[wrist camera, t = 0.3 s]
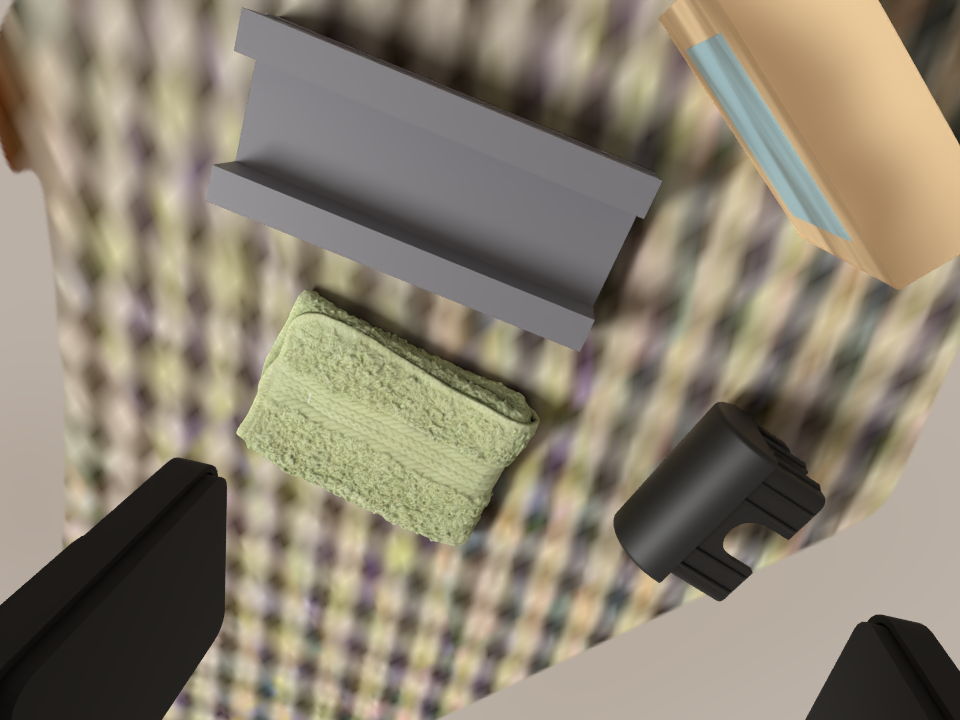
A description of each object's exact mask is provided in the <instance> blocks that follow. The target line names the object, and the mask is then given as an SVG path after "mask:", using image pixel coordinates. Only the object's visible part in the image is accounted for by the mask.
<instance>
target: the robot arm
mask: <svg viewBox="0 0 960 720" xmlns="http://www.w3.org/2000/svg"><path fill="white" fill-rule="evenodd" d="M226 510H227V482H226V480H225V479H224V478H222V477H218V473H217V470H216V467H214V466H213V465H210V464H205V463H201V462H196V461H192V460H187V459H183V458H173V459H171V460H170V461H168V462H167V463H166V464H165V465H164V466H163V467H161V468H160V469H159V470H158V471H157V472H156V473H155V474H154V475H152V476H151V477H150V478H149V479H148V480H147V481H146V482H144V483H143V484H142V485H141V486H140V487H139V488H138V489H136V490H135V491H134V492H133V493H132V494H131V495H130V496H128V497H127V498H126V499H125V500H124V501H123V502H122V503H121V504H119V505H118V506H117V507H116V508H115V509H114V510H113V511H111V512H110V513H109V514H108V515H107V516H106V517H105V518H103V519H102V520H101V521H100V522H99V523H98V524H97V525H95V526H94V527H93V528H92V529H91V530H90V531H89V532H87V533H86V534H85V535H84V536H81V537H80V538H78V539H77V540H75V541H74V542H73V543H71V544H70V545H69V546H68V547H67V548H65V549H64V550H63V551H62V552H61V553H60V554H59V555H57V556H56V557H55V558H54V559H53V560H52V561H50V562H49V563H48V564H47V565H46V566H45V567H44V568H42V569H41V570H40V571H39V572H38V573H37V574H36V575H34V576H33V577H32V578H31V579H30V580H29V581H28V582H26V583H25V584H24V585H23V586H22V587H21V588H20V589H18V590H17V591H16V592H15V593H14V594H13V595H11V596H10V597H9V598H8V599H7V600H6V601H5V602H3V603H2V604H1V605H0V720H162V719H163V717H164V716H165V714H166V713H167V711H168V710H169V708H170V707H171V705H172V704H173V702H174V701H175V699H176V698H177V696H178V695H179V693H180V692H181V690H182V689H183V687H184V686H185V684H186V683H187V681H188V680H189V678H190V677H191V675H192V674H193V672H194V671H195V669H196V668H197V666H198V665H199V663H200V661H201V660H202V658H203V657H204V655H205V654H206V652H207V651H208V649H209V648H210V646H211V645H212V643H213V642H214V640H215V639H216V637H217V635H218V633H219V631H220V629H221V626H222V623H223V619H224V613H225V565H226ZM806 720H960V671H959V670H958V668H957V667H956V665H955V664H954V663H953V661H952V660H951V658H950V657H949V656H948V654H947V653H946V651H945V650H944V649H943V647H942V646H941V644H940V643H939V642H938V640H937V639H936V637H935V636H934V634H933V633H932V632H931V631H930V630H929V629H928V628H927V627H926V626H924V625H922V624H920V623H917V622H912V621H908V620H903V619H898V618H894V617H890V616H885V615H875V616H873V617H871V618H870V619H869V620H868V622H861V623H859V624H858V625H857V626H856V627H855V629H854V631H853V632H852V634H851V636H850V638H849V640H848V642H847V644H846V645H845V647H844V649H843V651H842V653H841V655H840V657H839V658H838V660H837V662H836V664H835V666H834V668H833V669H832V671H831V673H830V675H829V677H828V679H827V681H826V682H825V684H824V686H823V688H822V690H821V692H820V693H819V695H818V697H817V699H816V701H815V703H814V705H813V706H812V708H811V710H810V712H809V714H808V716H807V718H806Z"/></svg>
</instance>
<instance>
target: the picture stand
mask: <svg viewBox="0 0 960 720" xmlns="http://www.w3.org/2000/svg"><path fill="white" fill-rule="evenodd" d="M234 51H236V52H238V53H241V54H243V55H246V56H248V57H250V58H253V59H255V60H256V62H255V67H254V72H253V77H252V82H251V87H250V92H249V97H248V102H247V107H246V112H245V117H244V121H243V126H242V131H241V136H240V141H239V146H238V151H237V156H236V161H234V162H228V163H221V164H215V165H212V170H211V175H210V180H209V186H208V191H207V196H206V201H208V202H210V203H212V204H215V205H217V206H220V207H222V208H225V209H227V210H230V211H232V212H235V213H237V214H240V215H242V216H245V217H247V218H250V219H252V220H255V221H257V222H259V223H262V224H264V225H267V226H269V227H272V228H274V229H277V230H279V231H282V232H284V233H287V234H289V235H292V236H294V237H297V238H299V239H302V240H304V241H306V242H309V243H311V244H314V245H316V246H319V247H321V248H324V249H326V250H329V251H331V252H334V253H336V254H339V255H341V256H344V257H346V258H348V259H351V260H353V261H356V262H358V263H361V264H363V265H366V266H368V267H371V268H373V269H376V270H378V271H381V272H383V273H386V274H388V275H391V276H393V277H395V278H398V279H400V280H403V281H405V282H408V283H410V284H413V285H415V286H418V287H420V288H423V289H425V290H428V291H430V292H433V293H435V294H438V295H440V296H442V297H445V298H447V299H450V300H452V301H455V302H457V303H460V304H462V305H465V306H467V307H470V308H472V309H475V310H477V311H480V312H482V313H485V314H487V315H489V316H492V317H494V318H497V319H499V320H502V321H504V322H507V323H509V324H512V325H514V326H517V327H519V328H522V329H524V330H527V331H529V332H532V333H534V334H536V335H539V336H541V337H544V338H546V339H549V340H551V341H554V342H556V343H559V344H561V345H564V346H566V347H569V348H571V349H574V350H576V351H578V352H580V350H581V348H582V346H583V344H584V342H585V340H586V338H587V336H588V334H589V331H590V329H591V327H592V325H593V323H594V321H595V317H594V310H593V306H594V304H595V302H596V299H597V297H598V295H599V293H600V291H601V289H602V287H603V285H604V283H605V281H606V279H607V276H608V274H609V272H610V270H611V268H612V266H613V264H614V262H615V260H616V258H617V256H618V253H619V251H620V249H621V247H622V245H623V243H624V241H625V239H626V237H627V235H628V233H629V230H630V228H631V226H632V224H633V222H634V220H635V218H636V216H638V217H640V218H642V219H644V218H645V216H646V214H647V212H648V210H649V208H650V206H651V204H652V201H653V199H654V197H655V195H656V193H657V191H658V189H659V187H660V185H661V183H662V180H661V179H659V178H658V177H657V176H656V173H654V172H653V171H651V170H648V169H646V168H643V167H641V166H639V165H636V164H634V163H631V162H629V161H626V160H624V159H622V158H619V157H617V156H614V155H612V154H609V153H607V152H605V151H602V150H600V149H597V148H595V147H593V146H590V145H588V144H585V143H583V142H580V141H578V140H576V139H573V138H571V137H568V136H566V135H563V134H561V133H559V132H556V131H554V130H551V129H549V128H547V127H544V126H542V125H539V124H537V123H534V122H532V121H530V120H527V119H525V118H522V117H520V116H517V115H515V114H513V113H510V112H508V111H505V110H503V109H500V108H498V107H496V106H493V105H491V104H488V103H486V102H484V101H481V100H479V99H476V98H474V97H471V96H469V95H467V94H464V93H462V92H459V91H457V90H454V89H452V88H450V87H447V86H445V85H442V84H440V83H438V82H435V81H433V80H430V79H428V78H425V77H423V76H421V75H418V74H416V73H413V72H411V71H408V70H406V69H404V68H401V67H399V66H396V65H394V64H391V63H389V62H387V61H384V60H382V59H379V58H377V57H375V56H372V55H370V54H367V53H365V52H362V51H360V50H358V49H355V48H353V47H350V46H348V45H345V44H343V43H341V42H338V41H336V40H333V39H331V38H329V37H326V36H324V35H321V34H319V33H316V32H314V31H312V30H309V29H307V28H304V27H302V26H299V25H297V24H295V23H292V22H290V21H287V20H285V19H282V18H280V17H278V16H274V15H271V14H268V13H265V14H261V13H258V12H255V11H252V10H249V9H246V8H243V7H242V11H241V16H240V21H239V26H238V32H237V37H236V42H235V48H234Z"/></svg>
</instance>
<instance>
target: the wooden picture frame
mask: <svg viewBox="0 0 960 720" xmlns="http://www.w3.org/2000/svg"><path fill="white" fill-rule="evenodd" d="M659 20H660V21H661V23H662V25H663V26H664V28H665V29H666V31H667V32H668V34H669V35H670V37H671V38H672V40H673V41H674V43H675V44H676V46H677V48H678V49H679V51H680V52H681V54H682V55H683V57H684V58H685V60H686V61H687V63H688V64H689V66H690V67H691V69H692V71H693V72H694V74H695V75H696V77H697V78H698V80H699V81H700V83H701V84H702V86H703V87H704V89H705V90H706V92H707V94H708V95H709V97H710V98H711V100H712V101H713V103H714V104H715V106H716V107H717V109H718V110H719V112H720V113H721V115H722V117H723V118H724V120H725V121H726V123H727V124H728V126H729V127H730V129H731V130H732V132H733V133H734V135H735V136H736V138H737V140H738V141H739V143H740V144H741V146H742V147H743V149H744V150H745V152H746V153H747V155H748V156H749V158H750V159H751V161H752V163H753V164H754V166H755V167H756V169H757V170H758V172H759V173H760V175H761V176H762V178H763V179H764V181H765V182H766V184H767V186H768V187H769V189H770V190H771V192H772V193H773V195H774V196H775V198H776V199H777V201H778V202H779V204H780V205H781V207H782V209H783V210H784V212H785V213H786V215H787V216H788V218H789V219H790V221H791V222H792V224H793V225H794V227H795V229H796V230H797V232H798V233H799V235H800V236H801V238H803V239H805V240H807V241H809V242H811V243H812V244H814V245H816V246H818V247H820V248H822V249H823V250H825V251H827V252H829V253H831V254H833V255H835V256H836V257H838V258H840V259H842V260H844V261H846V262H848V263H849V264H851V265H853V266H855V267H857V268H859V269H860V270H862V271H864V272H866V273H868V274H870V275H872V276H873V277H875V278H877V279H879V280H881V281H883V282H885V283H886V284H888V285H890V286H892V287H894V288H896V289H897V290H900V289H902V288H904V287H905V286H907V285H909V284H910V283H912V282H914V281H915V280H917V279H919V278H920V277H922V276H924V275H926V274H927V273H929V272H931V271H932V270H934V269H936V268H937V267H939V266H941V265H942V264H944V263H946V262H947V261H949V260H951V259H953V258H954V257H956V256H958V255H959V254H960V145H959V143H958V141H957V139H956V138H955V136H954V134H953V132H952V131H951V129H950V127H949V125H948V123H947V122H946V120H945V118H944V116H943V114H942V113H941V111H940V109H939V107H938V106H937V104H936V102H935V100H934V98H933V97H932V95H931V93H930V91H929V89H928V88H927V86H926V84H925V82H924V81H923V79H922V77H921V75H920V73H919V72H918V70H917V68H916V66H915V64H914V63H913V61H912V59H911V57H910V56H909V54H908V52H907V50H906V48H905V47H904V45H903V43H902V41H901V39H900V38H899V36H898V34H897V32H896V31H895V29H894V27H893V25H892V23H891V22H890V20H889V18H888V16H887V14H886V13H885V11H884V9H883V7H882V6H881V4H880V2H879V0H677V1H676V2H675V3H674V4H673V5H672V6H671V7H670V8H669V9H668V10H667V11H666V12H665V13H664V14H663V15H662V16H661V17H660V18H659Z"/></svg>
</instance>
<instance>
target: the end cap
mask: <svg viewBox="0 0 960 720" xmlns="http://www.w3.org/2000/svg"><path fill="white" fill-rule="evenodd" d="M807 473H808V471H807V470H806V465H805V463H804V462H803V461H801V460H800V459H798V458H796V457H795V456H793V455H792V454H790V450H789V448H788V447H787V445H786V444H785V443H784V442H782V441H781V440H779V439H778V438H776V437H775V436H773V435H772V434H770V433H768V432H767V431H765V430H764V429H762V428H761V427H759V426H758V425H756V424H755V423H754V422H753V420H752V418H751V417H750V415H749V414H748V413H746V412H745V411H743V410H741V409H739V408H738V407H736V406H733V405H731V404H728V403H725V402H718V403H716V404H715V405H714V406H713V407H712V408H711V409H710V410H709V411H708V412H707V413H706V414H705V416H704V417H703V418H702V419H701V420H700V421H699V422H698V423H697V424H696V426H695V427H694V428H693V429H692V430H691V431H690V432H689V433H688V434H687V435H686V437H685V438H684V439H683V440H682V441H681V442H680V443H679V444H678V445H677V447H676V448H675V449H674V450H673V451H672V452H671V453H670V454H669V455H668V456H667V458H666V459H665V460H664V461H663V462H662V463H661V464H660V465H659V466H658V468H657V469H656V470H655V471H654V472H653V473H652V474H651V475H650V476H649V477H648V479H647V480H646V481H645V482H644V483H643V484H642V485H641V486H640V487H639V489H638V490H637V491H636V492H635V493H634V494H633V495H632V496H631V497H630V498H629V500H628V501H627V502H626V503H625V504H624V505H623V506H622V507H621V508H620V510H619V511H618V512H617V513H616V514H615V517H614V529H615V533H616V536H617V538H618V540H619V542H620V544H621V545H622V547H623V549H624V550H625V551H626V553H627V554H628V556H629V557H630V558H631V559H632V560H633V561H634V562H635V564H636V565H637V566H639V567H640V568H641V569H642V570H643V571H644V572H645V573H646V574H647V575H649V576H650V577H651V578H653V579H654V580H656V581H657V582H659V583H660V582H662V581H663V580H664V579H665V578H666V577H667V576H668V575H669V574H670V573H672V574H674V575H676V576H677V577H679V578H681V579H682V580H684V581H685V582H687V583H689V584H690V585H692V586H694V587H695V588H697V589H699V590H700V591H702V592H704V593H705V594H707V595H708V596H710V597H712V598H713V599H715V600H717V601H722V600H724V599H725V598H726V597H727V596H728V595H729V594H730V593H731V592H732V591H734V590H735V589H736V588H737V587H738V586H739V585H740V584H741V583H742V582H743V581H744V580H746V579H747V578H748V577H749V576H750V575H751V574H752V570H751V568H750V567H749V566H747V565H745V564H744V563H742V562H740V561H739V560H737V559H736V558H734V557H732V556H731V555H729V554H728V553H727V552H726V551H725V550H724V548H723V541H724V538H725V536H726V534H727V533H728V532H729V531H730V530H731V529H732V528H734V527H736V526H738V525H740V524H744V523H759V524H763V525H765V526H767V527H769V528H770V529H772V530H773V531H775V532H776V533H778V534H780V535H781V536H783V537H784V538H786V539H788V540H789V539H790V538H791V537H792V536H793V535H794V534H796V533H797V532H798V531H799V530H800V529H801V528H802V527H803V526H804V525H805V524H806V523H808V522H809V521H810V520H811V519H812V518H813V517H814V516H815V515H816V514H817V513H818V512H820V511H821V509H822V508H823V506H824V504H825V497H824V495H823V494H822V492H821V489H820V485H819V484H818V483H816V482H815V481H813V480H812V479H810V478H809V477H807V476H806V474H807Z"/></svg>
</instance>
